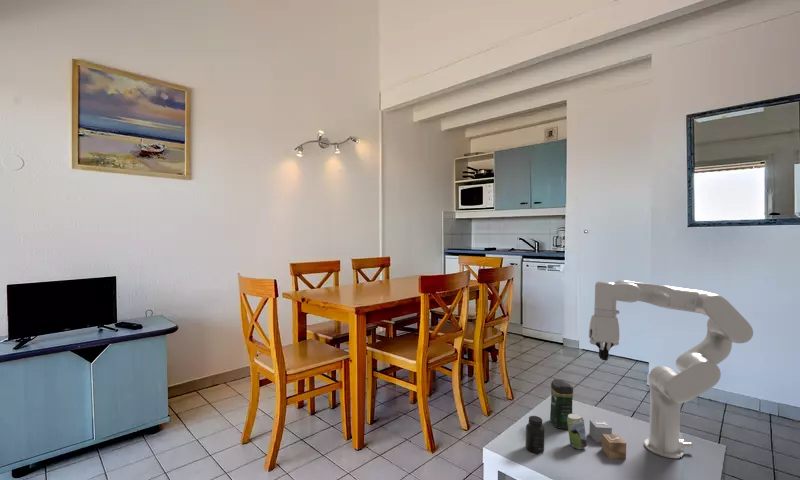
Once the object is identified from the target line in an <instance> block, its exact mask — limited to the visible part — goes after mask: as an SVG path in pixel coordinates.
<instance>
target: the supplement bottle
mask: <svg viewBox="0 0 800 480" xmlns="http://www.w3.org/2000/svg"><path fill="white" fill-rule="evenodd" d="M545 429H546V428H545V427H544V426H543V419H542V418H541V417H540V416H537V415H530V416H529V417H528V422H527V424H526V425H525V444H524V445H525V449H526V450H527V451H528V453H531V454H534V455H541V454H543V453H544V452H545V436H546V432H545V431H546V430H545Z"/></svg>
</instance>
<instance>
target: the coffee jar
mask: <svg viewBox="0 0 800 480" xmlns="http://www.w3.org/2000/svg"><path fill="white" fill-rule="evenodd" d="M573 387H574V386H572V385H571V384H570V383H569V382H567V381H566V380H564V379H559V378H557V379H556V378H554V379H553V380H552V381H551V385H550V392H551V393H550V395H551V396H550V397H551V399H550V413H549V414H550V415H549V420H550V421H551V423H552V424H553V426H554V427H556V428H558V429H562V430H568V424H567V417H568V415H569V414H572V413H573V399H574V388H573Z"/></svg>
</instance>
